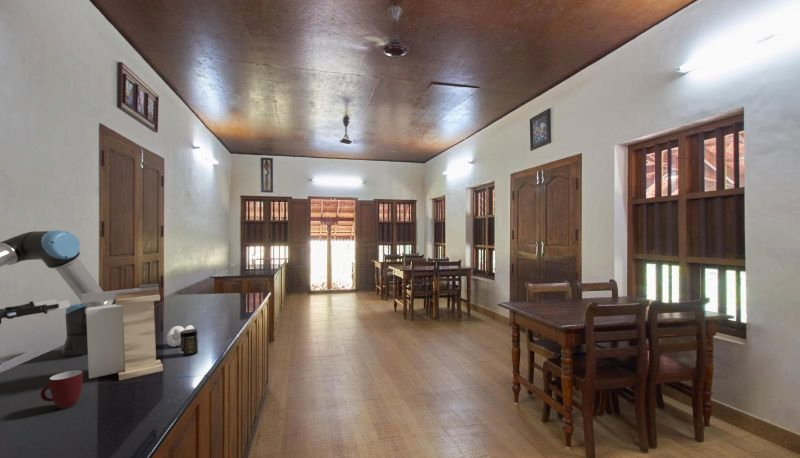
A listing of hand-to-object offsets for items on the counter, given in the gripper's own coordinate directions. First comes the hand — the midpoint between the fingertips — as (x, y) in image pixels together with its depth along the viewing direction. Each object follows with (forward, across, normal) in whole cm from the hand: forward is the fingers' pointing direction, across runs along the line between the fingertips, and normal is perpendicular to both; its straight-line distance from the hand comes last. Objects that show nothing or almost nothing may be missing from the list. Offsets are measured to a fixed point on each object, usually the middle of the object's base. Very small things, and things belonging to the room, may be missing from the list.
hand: (63, 302), depth 147 cm
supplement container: (+37, +14, -32) cm, 51 cm away
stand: (+16, +19, -31) cm, 39 cm away
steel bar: (+13, +18, -1) cm, 23 cm away
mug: (-11, +31, -30) cm, 44 cm away
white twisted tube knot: (+43, -4, -32) cm, 54 cm away
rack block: (+9, +6, -30) cm, 32 cm away
